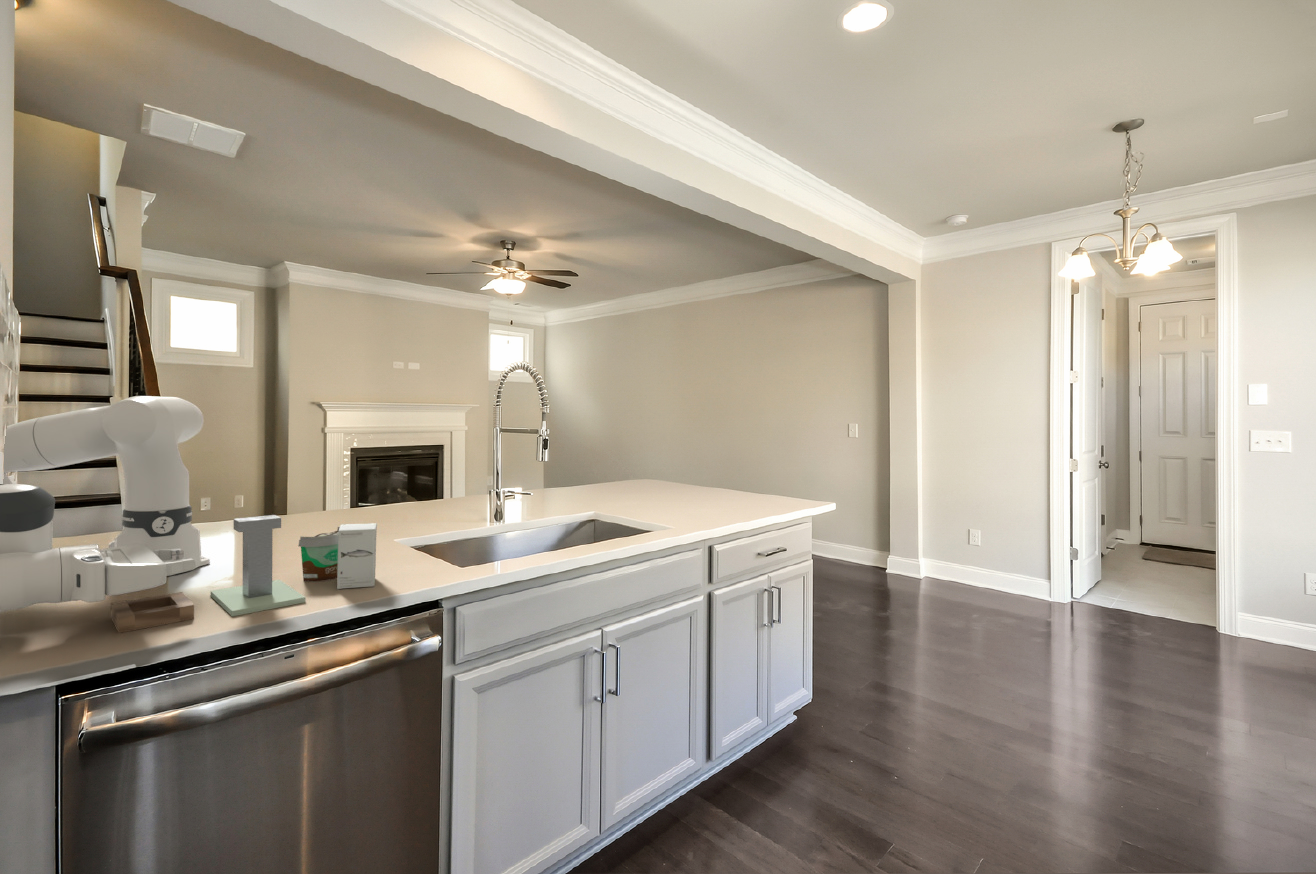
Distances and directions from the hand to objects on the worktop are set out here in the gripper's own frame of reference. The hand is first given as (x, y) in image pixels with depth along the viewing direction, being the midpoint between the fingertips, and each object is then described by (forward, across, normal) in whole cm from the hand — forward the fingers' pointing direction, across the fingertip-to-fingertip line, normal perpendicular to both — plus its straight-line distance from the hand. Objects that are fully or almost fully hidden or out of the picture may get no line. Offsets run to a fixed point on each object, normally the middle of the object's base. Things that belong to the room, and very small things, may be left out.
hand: (188, 558), depth 110 cm
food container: (+27, -7, -10) cm, 30 cm away
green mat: (+11, 0, -10) cm, 15 cm away
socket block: (-5, 0, -10) cm, 11 cm away
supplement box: (+29, +2, -10) cm, 31 cm away
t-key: (+11, 0, -9) cm, 14 cm away
